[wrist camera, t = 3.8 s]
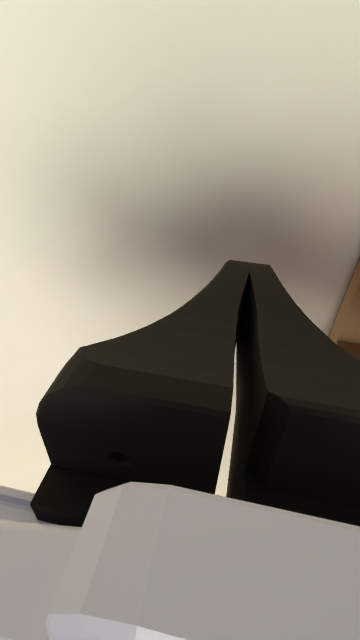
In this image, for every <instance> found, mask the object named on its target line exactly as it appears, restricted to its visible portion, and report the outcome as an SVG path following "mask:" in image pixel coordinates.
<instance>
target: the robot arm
mask: <svg viewBox="0 0 360 640" xmlns="http://www.w3.org/2000/svg"><path fill="white" fill-rule="evenodd" d="M236 342H237V361H236V415H235V424H234V434H233V443H232V452H231V461H230V469H229V478H228V487H227V495H226V497H223V496H219V495H214V494H215V489H216V485H217V480H218V475H219V470H220V465H221V460H222V455H223V450H224V445H225V440H226V435H227V430H228V425H229V420H230V414H231V405H232V396H233V376H234V354H235V346H236ZM36 417H37V423H38V427H39V430H40V433H41V436H42V439H43V442H44V445H45V447H46V450H47V453H48V456H49V459H50V462H51V465H50V467H49V469H48V471H47V473H46V475H45V477H44V478H43V480H42V482H41V484H40V486H39V488H38V490H37V491H36V493H35V494H34V493H30V492H26V491H22V490H17V489H13V488H9V487H5V486H1V485H0V640H360V361H359V360H357V359H356V358H354V357H353V356H352V355H350V354H349V353H348V352H346V351H345V350H344V349H342V348H341V347H340V346H338V345H337V344H336V343H335V342H333V341H332V340H331V339H330V338H329V337H327V336H326V335H325V334H324V333H323V332H322V331H321V330H320V329H319V328H318V327H317V326H316V325H315V324H314V323H313V322H312V321H311V320H310V319H309V318H308V317H307V316H306V315H305V314H304V313H303V312H302V310H301V309H300V308H299V307H298V306H297V305H296V303H295V302H294V301H293V299H292V298H291V297H290V295H289V294H288V293H287V291H286V290H285V288H284V287H283V285H282V284H281V282H280V281H279V279H278V277H277V276H276V274H275V272H274V271H273V269H272V268H271V266H270V265H265V264H257V263H249V262H241V261H233V260H229V261H228V262H226V263H225V265H224V266H223V268H222V269H221V270H220V272H219V273H218V274H217V275H216V276H215V277H214V278H213V280H212V281H211V282H210V283H209V284H208V285H207V286H206V287H205V288H204V289H203V290H201V291H200V292H199V293H198V294H197V295H196V296H194V297H193V298H192V299H191V300H190V301H188V302H187V303H186V304H185V305H183V306H182V307H180V308H179V309H177V310H176V311H174V312H173V313H171V314H170V315H168V316H166V317H164V318H162V319H160V320H158V321H156V322H154V323H152V324H150V325H148V326H146V327H144V328H141V329H139V330H136V331H134V332H131V333H128V334H126V335H123V336H120V337H117V338H114V339H110V340H106V341H103V342H99V343H95V344H92V345H88V346H84V347H80V348H79V349H78V350H77V352H76V353H75V354H74V355H73V356H72V357H71V359H70V360H69V361H68V362H67V363H66V365H65V366H64V367H63V369H62V370H61V371H60V373H59V374H58V376H57V377H56V379H55V380H54V382H53V383H52V385H51V386H50V388H49V389H48V391H47V392H46V394H45V395H44V397H43V398H42V400H41V401H40V403H39V406H38V409H37V412H36Z"/></svg>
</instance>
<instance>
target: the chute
mask: <svg viewBox="0 0 360 640" xmlns="http://www.w3.org/2000/svg"><path fill="white" fill-rule="evenodd" d="M329 338H330V339H331V340H332V341H333V342H335V343H336V344H337V345H338V346H340V347H341V348H342V349H344V350H345V351H346V352H348V353H349V354H350V355H352V356H353V357H354V358H356V359H357V360H359V361H360V258H359V260H358V263H357V265H356V268H355V271H354V273H353V276H352V278H351V281H350V283H349V286H348V288H347V291H346V294H345V296H344V299H343V301H342V304H341V306H340V309H339V311H338V314H337V317H336V319H335V322H334V324H333V327H332V329H331V332H330V334H329Z"/></svg>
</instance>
